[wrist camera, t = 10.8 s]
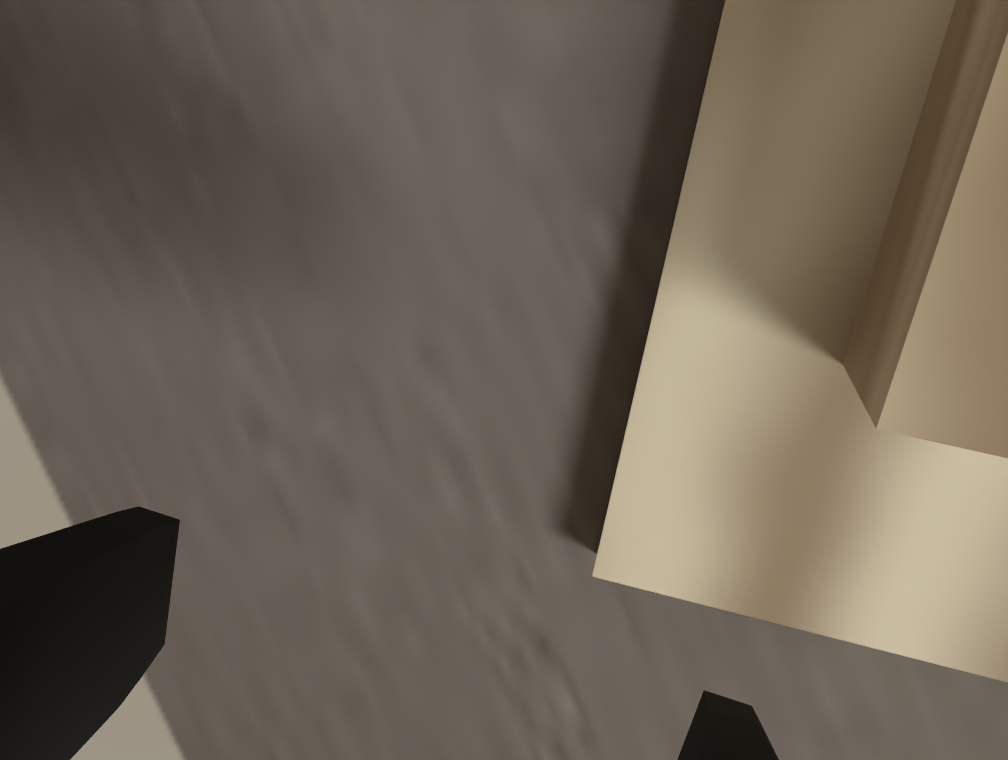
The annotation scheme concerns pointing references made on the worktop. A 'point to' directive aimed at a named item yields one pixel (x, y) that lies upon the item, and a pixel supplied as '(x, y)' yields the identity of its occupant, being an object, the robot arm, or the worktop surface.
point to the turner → (946, 256)
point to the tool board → (801, 360)
